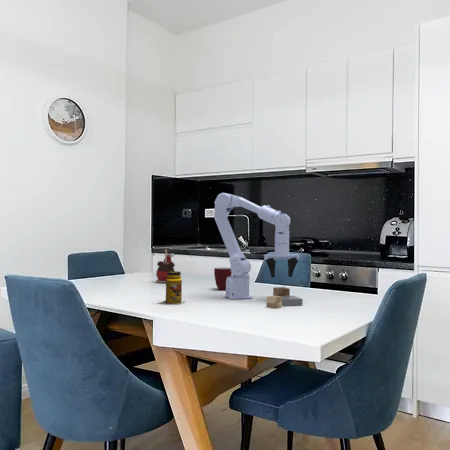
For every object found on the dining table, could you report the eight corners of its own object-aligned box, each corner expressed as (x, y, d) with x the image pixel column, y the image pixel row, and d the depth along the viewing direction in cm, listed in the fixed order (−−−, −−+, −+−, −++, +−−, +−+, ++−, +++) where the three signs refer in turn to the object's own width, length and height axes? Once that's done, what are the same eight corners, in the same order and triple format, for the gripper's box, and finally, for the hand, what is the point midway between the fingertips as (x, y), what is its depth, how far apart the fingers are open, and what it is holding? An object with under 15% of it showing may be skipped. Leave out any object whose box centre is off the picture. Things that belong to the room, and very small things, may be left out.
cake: (151, 282, 240) (152, 247, 240) (164, 280, 248) (164, 246, 247) (167, 284, 234) (167, 248, 234) (179, 282, 241) (179, 247, 241)
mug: (207, 288, 220) (208, 267, 220) (221, 287, 225) (221, 266, 225) (220, 291, 211) (220, 269, 211) (234, 290, 216) (235, 268, 216)
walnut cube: (278, 301, 186) (278, 289, 186) (273, 299, 191) (273, 287, 191) (289, 301, 187) (289, 288, 187) (284, 299, 192) (284, 287, 192)
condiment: (178, 305, 175) (178, 273, 175) (157, 303, 178) (157, 272, 178) (185, 302, 182) (185, 271, 182) (165, 300, 185) (166, 270, 185)
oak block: (273, 308, 170) (273, 297, 170) (266, 307, 173) (266, 296, 173) (281, 307, 172) (281, 296, 172) (274, 306, 176) (274, 295, 176)
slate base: (283, 306, 175) (283, 299, 175) (274, 302, 183) (274, 296, 183) (302, 305, 177) (302, 298, 177) (293, 302, 185) (293, 295, 185)
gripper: (269, 243, 183) (268, 278, 183) (302, 243, 187) (302, 277, 187) (262, 243, 190) (262, 276, 190) (295, 243, 194) (294, 275, 194)
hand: (281, 277), depth 189 cm, fingers open, 7 cm apart
